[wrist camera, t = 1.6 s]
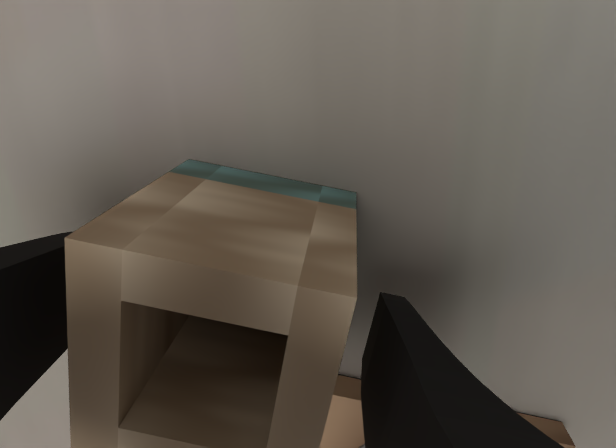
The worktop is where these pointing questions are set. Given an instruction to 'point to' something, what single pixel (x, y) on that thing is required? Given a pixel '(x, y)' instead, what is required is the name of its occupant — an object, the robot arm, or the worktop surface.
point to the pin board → (349, 422)
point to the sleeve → (210, 312)
